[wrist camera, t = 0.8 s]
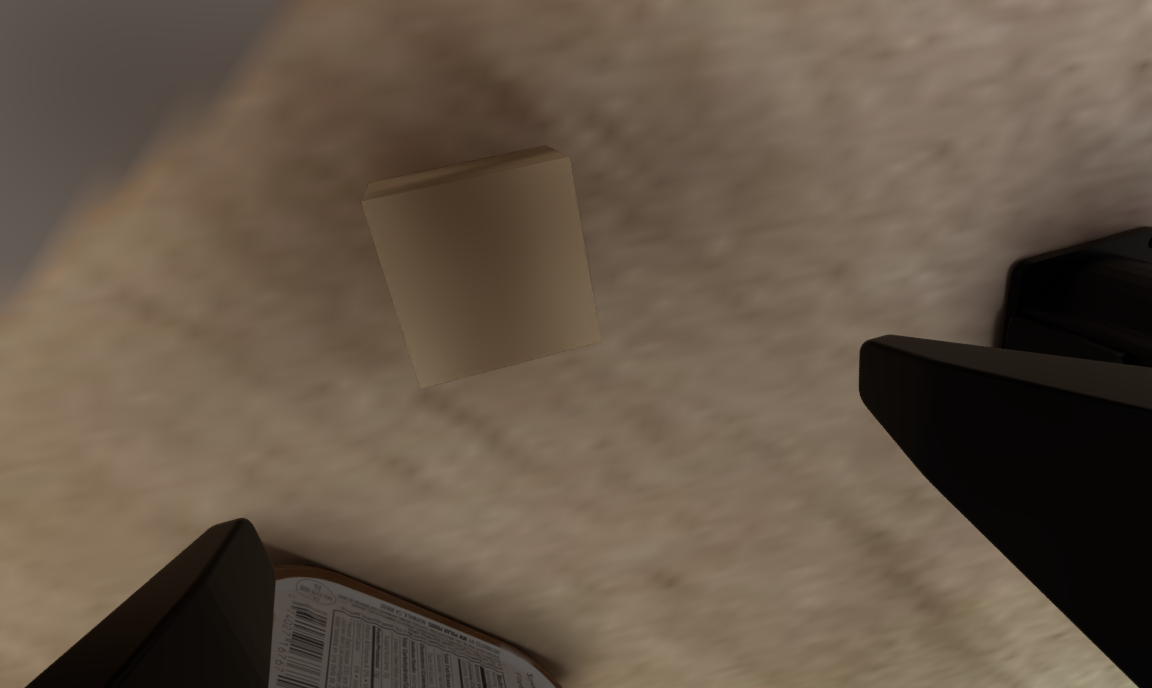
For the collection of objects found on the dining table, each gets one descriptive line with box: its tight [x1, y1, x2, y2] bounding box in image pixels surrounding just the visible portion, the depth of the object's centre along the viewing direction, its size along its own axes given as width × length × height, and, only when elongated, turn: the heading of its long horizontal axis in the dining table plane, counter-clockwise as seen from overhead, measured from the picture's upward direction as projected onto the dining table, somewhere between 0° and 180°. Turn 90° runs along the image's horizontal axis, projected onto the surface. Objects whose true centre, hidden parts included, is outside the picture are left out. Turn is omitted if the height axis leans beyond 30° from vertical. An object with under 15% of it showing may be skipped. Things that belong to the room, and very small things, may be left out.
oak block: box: [361, 146, 601, 389], centre depth 17 cm, size 5×5×3 cm
